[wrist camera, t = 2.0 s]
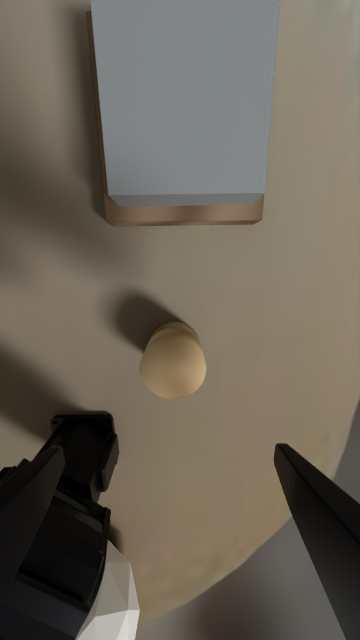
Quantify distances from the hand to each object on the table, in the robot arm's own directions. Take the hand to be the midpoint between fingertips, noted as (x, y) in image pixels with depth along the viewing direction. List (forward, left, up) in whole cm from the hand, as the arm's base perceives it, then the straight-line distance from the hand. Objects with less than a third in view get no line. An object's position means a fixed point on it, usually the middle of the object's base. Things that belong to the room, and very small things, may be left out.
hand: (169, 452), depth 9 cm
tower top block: (+1, +17, -10) cm, 20 cm away
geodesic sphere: (-11, -29, -12) cm, 33 cm away
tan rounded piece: (0, 0, -12) cm, 12 cm away
